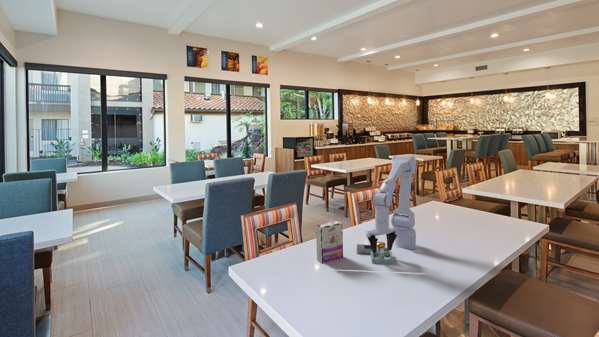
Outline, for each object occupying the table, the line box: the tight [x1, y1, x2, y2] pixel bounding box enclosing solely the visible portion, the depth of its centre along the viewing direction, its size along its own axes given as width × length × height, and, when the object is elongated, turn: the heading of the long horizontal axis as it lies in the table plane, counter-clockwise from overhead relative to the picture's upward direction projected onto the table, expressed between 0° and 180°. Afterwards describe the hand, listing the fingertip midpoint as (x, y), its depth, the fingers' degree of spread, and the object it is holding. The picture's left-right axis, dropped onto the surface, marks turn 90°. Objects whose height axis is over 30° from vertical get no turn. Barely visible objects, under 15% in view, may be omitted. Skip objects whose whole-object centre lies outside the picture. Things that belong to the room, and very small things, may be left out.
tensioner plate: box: [356, 243, 391, 255], centre depth 149 cm, size 15×7×3 cm, turn 81°
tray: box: [370, 251, 395, 265], centre depth 140 cm, size 9×9×2 cm
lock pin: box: [376, 241, 386, 259], centre depth 141 cm, size 4×4×7 cm
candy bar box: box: [315, 220, 344, 264], centre depth 142 cm, size 11×5×16 cm, turn 117°
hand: (381, 250), depth 140 cm, fingers open, 7 cm apart
